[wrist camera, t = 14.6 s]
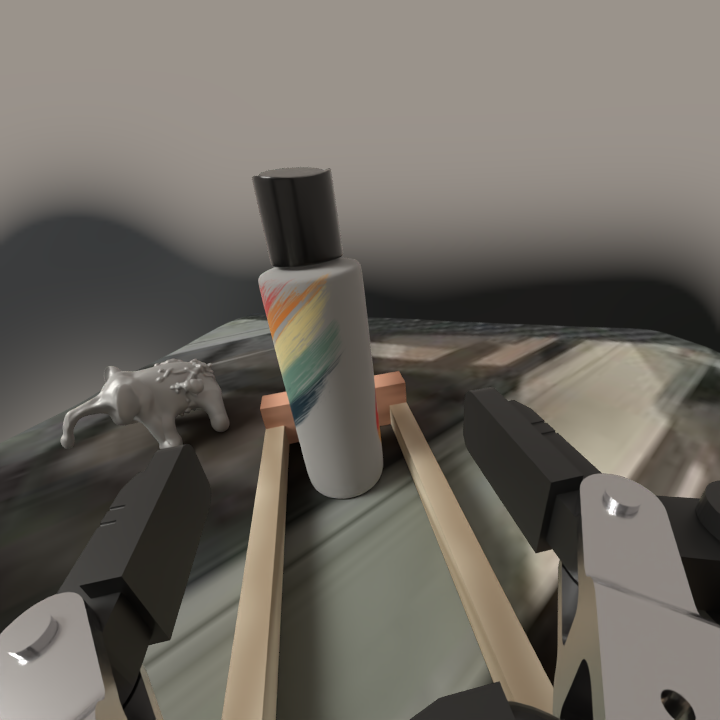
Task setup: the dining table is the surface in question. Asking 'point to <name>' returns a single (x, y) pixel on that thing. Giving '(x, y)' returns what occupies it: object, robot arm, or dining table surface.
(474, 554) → the guide lane
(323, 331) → the lotion bottle
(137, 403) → the elephant statuette
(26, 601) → the dining table surface
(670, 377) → the dining table surface
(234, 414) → the dining table surface
